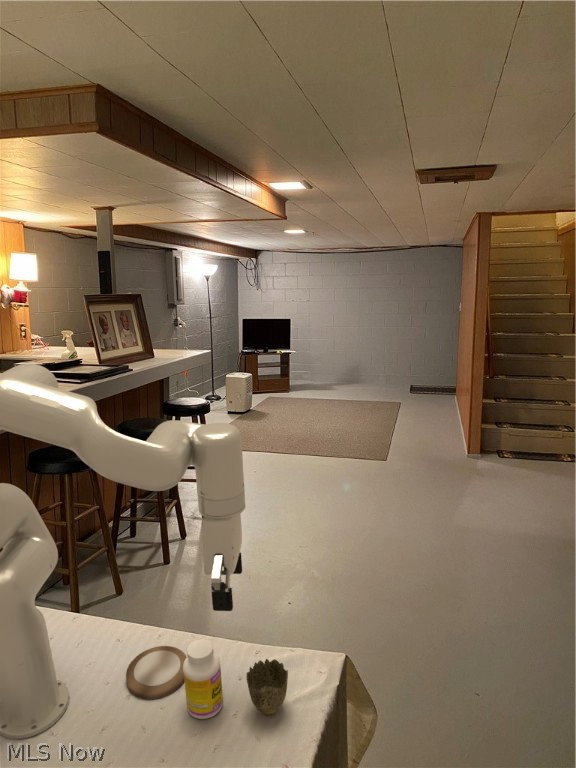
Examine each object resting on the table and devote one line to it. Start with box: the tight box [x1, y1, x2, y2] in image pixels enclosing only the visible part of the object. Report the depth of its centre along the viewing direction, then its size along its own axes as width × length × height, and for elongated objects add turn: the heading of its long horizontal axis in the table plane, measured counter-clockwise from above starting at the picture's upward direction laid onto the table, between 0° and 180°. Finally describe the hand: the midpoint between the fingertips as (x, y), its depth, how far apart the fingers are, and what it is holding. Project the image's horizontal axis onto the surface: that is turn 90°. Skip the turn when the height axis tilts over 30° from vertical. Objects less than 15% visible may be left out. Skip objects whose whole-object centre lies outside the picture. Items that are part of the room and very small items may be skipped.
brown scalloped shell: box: [245, 658, 289, 717], centre depth 101 cm, size 8×7×8 cm
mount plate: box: [125, 645, 187, 700], centre depth 111 cm, size 12×12×2 cm
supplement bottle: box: [183, 638, 224, 720], centre depth 102 cm, size 7×7×13 cm
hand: (228, 590), depth 95 cm, fingers open, 9 cm apart
